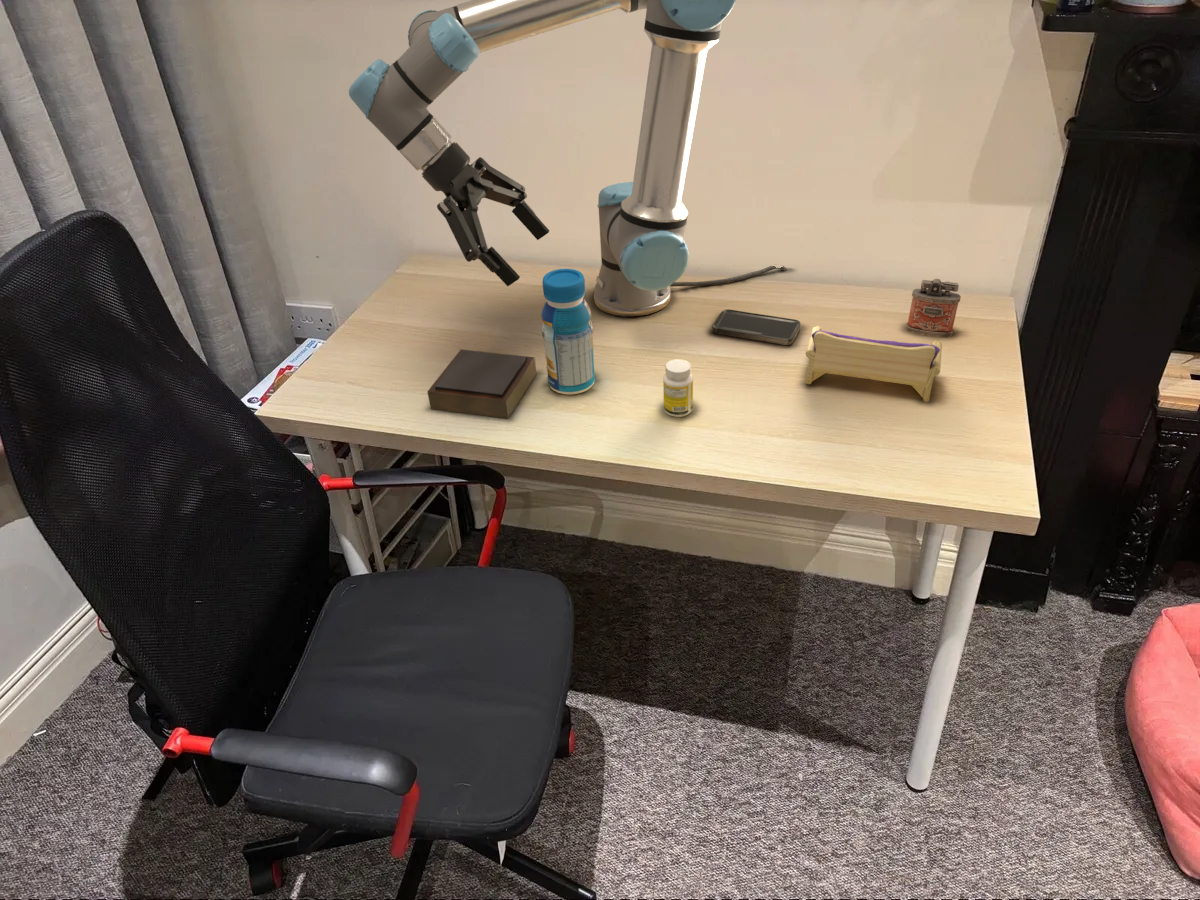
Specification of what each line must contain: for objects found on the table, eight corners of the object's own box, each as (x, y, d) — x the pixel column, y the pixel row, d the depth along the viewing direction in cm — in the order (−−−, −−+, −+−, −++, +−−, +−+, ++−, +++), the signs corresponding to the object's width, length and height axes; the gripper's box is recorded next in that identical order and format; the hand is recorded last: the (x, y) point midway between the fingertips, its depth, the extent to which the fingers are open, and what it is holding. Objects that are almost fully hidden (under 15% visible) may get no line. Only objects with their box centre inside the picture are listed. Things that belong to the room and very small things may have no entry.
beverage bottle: (578, 401, 144) (570, 293, 132) (537, 388, 148) (526, 282, 136) (605, 377, 150) (599, 271, 137) (565, 365, 153) (556, 261, 141)
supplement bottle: (676, 397, 143) (677, 354, 138) (698, 408, 141) (699, 364, 135) (657, 410, 141) (657, 366, 136) (679, 421, 138) (679, 376, 133)
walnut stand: (536, 374, 152) (534, 354, 149) (508, 418, 141) (505, 398, 139) (463, 365, 155) (460, 346, 153) (430, 408, 144) (426, 389, 142)
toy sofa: (935, 375, 145) (947, 321, 139) (933, 403, 138) (945, 348, 132) (809, 359, 151) (815, 307, 145) (801, 385, 144) (807, 332, 138)
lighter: (904, 332, 157) (914, 282, 151) (906, 323, 159) (916, 274, 153) (951, 338, 154) (963, 288, 148) (953, 330, 156) (964, 279, 150)
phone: (723, 308, 165) (801, 320, 159) (723, 313, 165) (801, 325, 160) (711, 327, 159) (791, 340, 154) (710, 333, 160) (790, 346, 154)
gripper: (455, 131, 144) (540, 227, 152) (386, 210, 128) (485, 312, 136) (483, 107, 139) (569, 207, 147) (414, 185, 123) (515, 292, 131)
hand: (529, 258), depth 142 cm, fingers open, 13 cm apart
